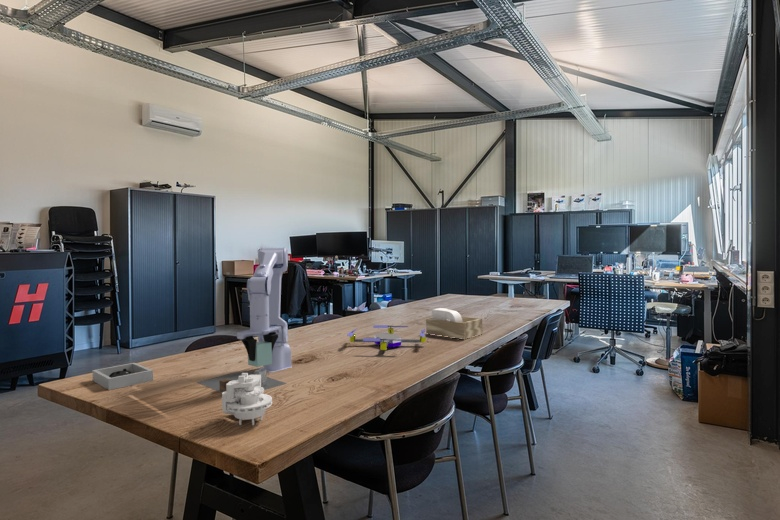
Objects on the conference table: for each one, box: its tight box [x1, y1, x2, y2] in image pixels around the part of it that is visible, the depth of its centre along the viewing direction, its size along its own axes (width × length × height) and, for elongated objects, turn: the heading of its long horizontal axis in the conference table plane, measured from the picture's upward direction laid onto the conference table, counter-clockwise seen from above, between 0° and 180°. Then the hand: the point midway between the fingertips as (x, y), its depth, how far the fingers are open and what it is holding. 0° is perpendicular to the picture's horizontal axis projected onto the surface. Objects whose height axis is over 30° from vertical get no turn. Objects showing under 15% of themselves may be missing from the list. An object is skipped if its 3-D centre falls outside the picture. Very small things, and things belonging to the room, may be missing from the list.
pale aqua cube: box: [247, 341, 272, 368], centre depth 140 cm, size 5×5×7 cm
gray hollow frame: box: [92, 362, 154, 391], centre depth 149 cm, size 13×16×4 cm
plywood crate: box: [425, 315, 483, 339], centre depth 222 cm, size 17×22×8 cm
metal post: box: [254, 368, 268, 387], centre depth 140 cm, size 3×3×5 cm
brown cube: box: [219, 379, 232, 392], centre depth 136 cm, size 3×3×3 cm
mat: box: [196, 370, 288, 394], centre depth 143 cm, size 18×24×1 cm
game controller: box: [109, 369, 131, 378], centre depth 149 cm, size 10×5×6 cm
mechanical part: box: [221, 373, 273, 426], centre depth 113 cm, size 11×12×12 cm
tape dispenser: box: [431, 307, 463, 323], centre depth 222 cm, size 16×10×13 cm, turn 39°
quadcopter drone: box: [347, 324, 427, 351], centre depth 198 cm, size 34×33×5 cm
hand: (260, 358), depth 139 cm, fingers closed on pale aqua cube, 5 cm apart
